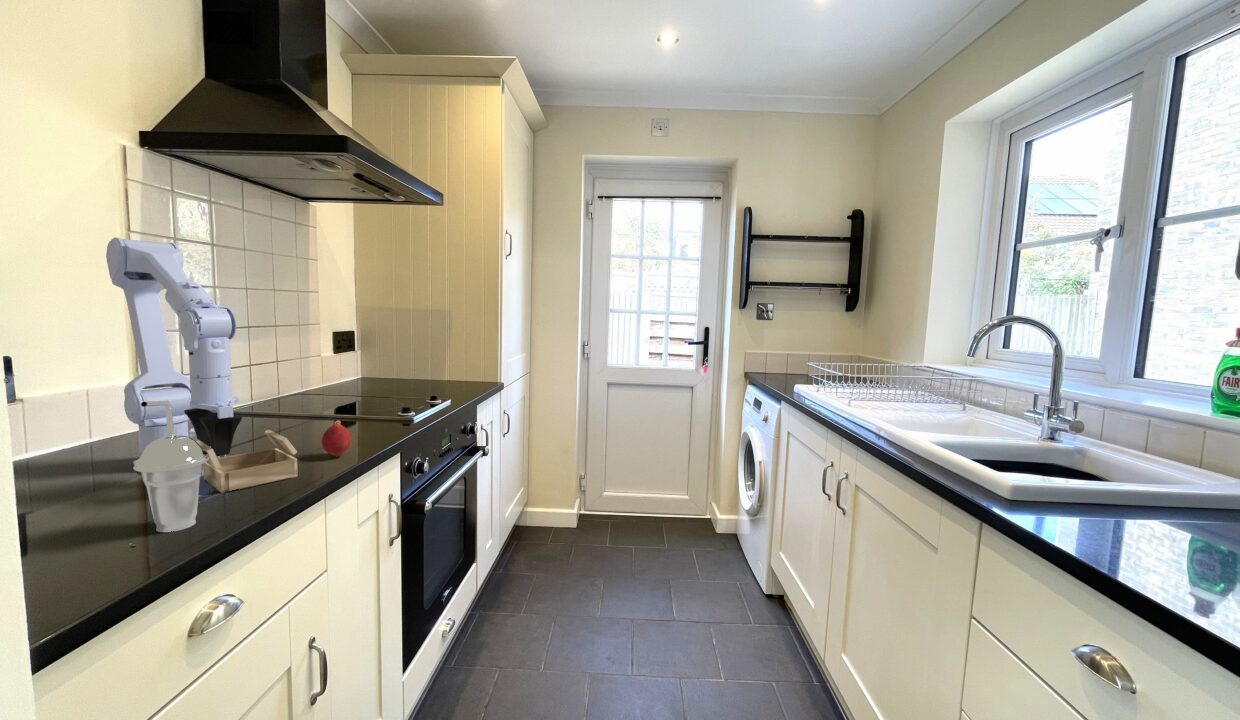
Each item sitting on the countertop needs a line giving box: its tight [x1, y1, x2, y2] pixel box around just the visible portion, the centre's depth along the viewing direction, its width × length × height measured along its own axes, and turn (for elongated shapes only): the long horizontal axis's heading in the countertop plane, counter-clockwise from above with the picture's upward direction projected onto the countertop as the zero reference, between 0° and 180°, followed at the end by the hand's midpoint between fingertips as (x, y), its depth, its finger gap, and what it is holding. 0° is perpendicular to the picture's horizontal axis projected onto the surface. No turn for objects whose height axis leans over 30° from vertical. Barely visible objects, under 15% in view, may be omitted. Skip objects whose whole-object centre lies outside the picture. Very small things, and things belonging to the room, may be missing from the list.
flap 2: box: [264, 429, 298, 456], centre depth 100 cm, size 9×4×1 cm
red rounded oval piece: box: [321, 420, 353, 458], centre depth 111 cm, size 6×6×8 cm
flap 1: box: [194, 438, 221, 469], centre depth 91 cm, size 9×4×1 cm
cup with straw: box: [132, 401, 210, 533], centre depth 75 cm, size 8×9×20 cm
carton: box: [202, 447, 299, 494], centre depth 97 cm, size 11×12×4 cm
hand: (214, 450), depth 92 cm, fingers open, 7 cm apart
